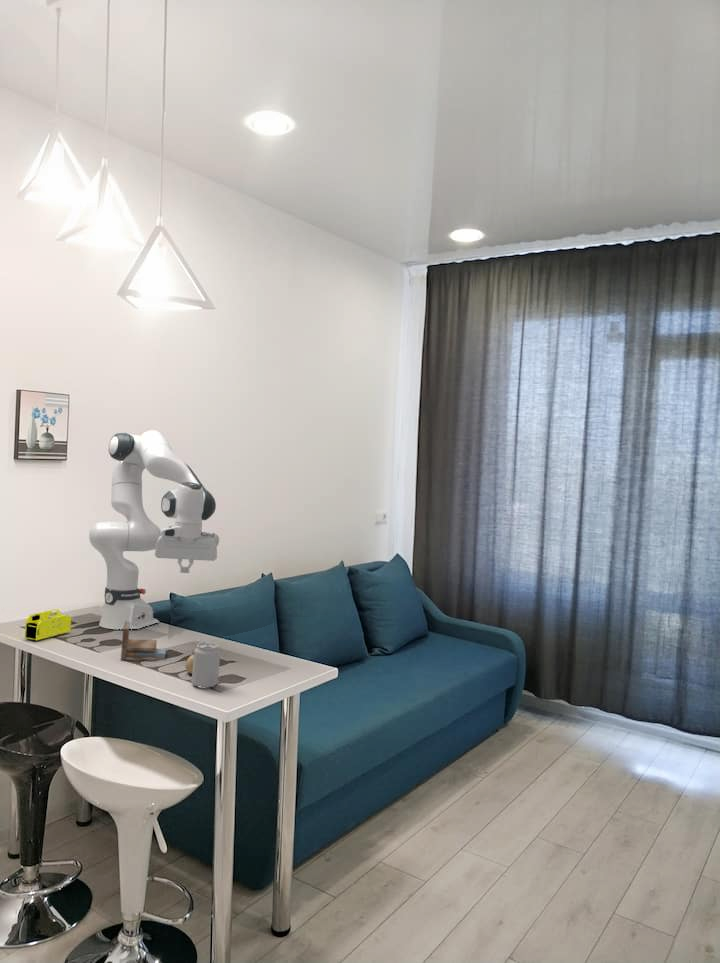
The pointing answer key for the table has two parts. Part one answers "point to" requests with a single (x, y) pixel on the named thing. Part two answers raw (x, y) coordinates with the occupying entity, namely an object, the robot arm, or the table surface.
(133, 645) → the tan bookend
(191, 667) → the onion
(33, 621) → the yellow toy chassis
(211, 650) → the can
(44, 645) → the table surface
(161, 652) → the two-tone tall prism
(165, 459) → the robot arm
